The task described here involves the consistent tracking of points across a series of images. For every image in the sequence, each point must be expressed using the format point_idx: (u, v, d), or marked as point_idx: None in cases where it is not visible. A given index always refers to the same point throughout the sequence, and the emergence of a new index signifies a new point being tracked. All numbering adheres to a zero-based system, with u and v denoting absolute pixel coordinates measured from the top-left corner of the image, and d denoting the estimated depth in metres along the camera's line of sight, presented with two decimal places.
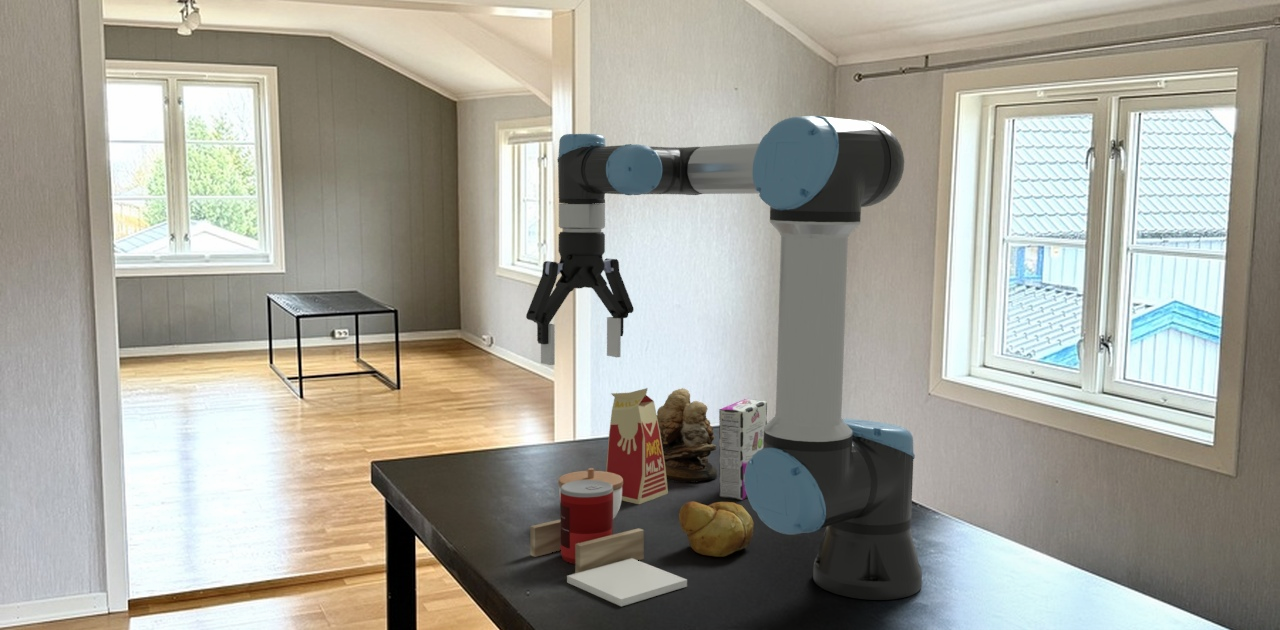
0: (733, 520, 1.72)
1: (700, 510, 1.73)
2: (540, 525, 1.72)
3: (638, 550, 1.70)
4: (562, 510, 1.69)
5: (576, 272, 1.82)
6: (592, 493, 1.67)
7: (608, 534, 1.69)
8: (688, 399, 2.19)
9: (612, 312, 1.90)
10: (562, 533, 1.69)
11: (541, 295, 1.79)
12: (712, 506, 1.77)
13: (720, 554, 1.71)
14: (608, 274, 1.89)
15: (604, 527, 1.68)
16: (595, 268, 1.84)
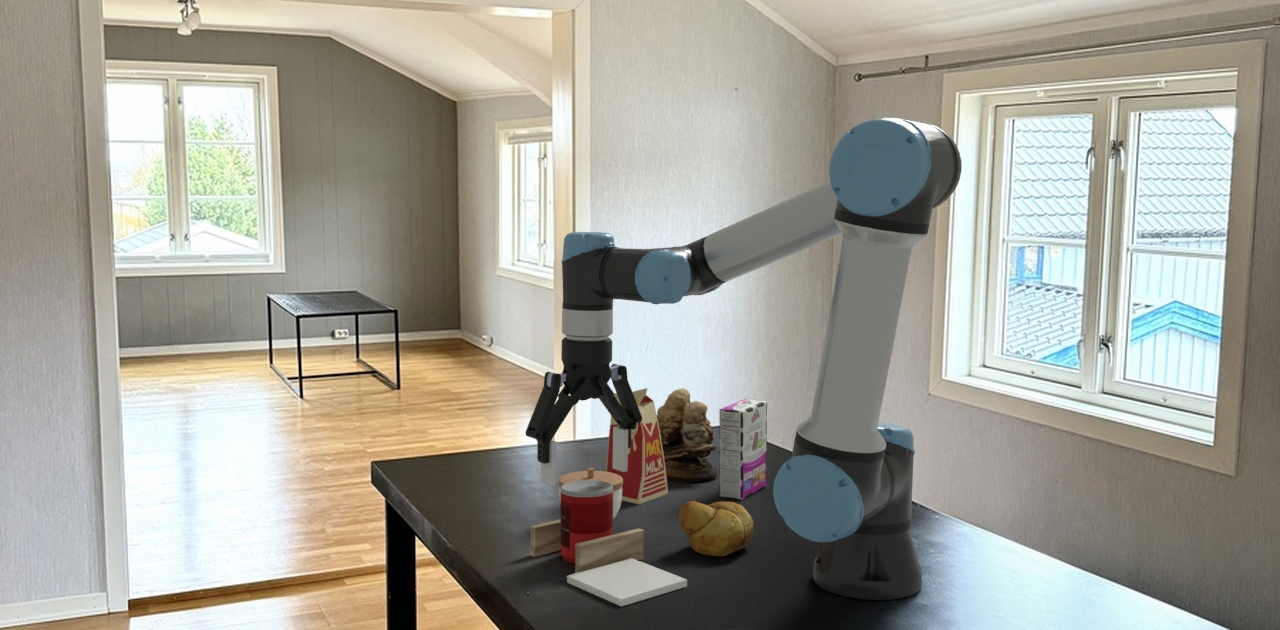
0: (732, 520, 1.72)
1: (700, 509, 1.73)
2: (540, 525, 1.72)
3: (638, 550, 1.70)
4: (562, 510, 1.69)
5: (581, 383, 1.66)
6: (592, 493, 1.67)
7: (608, 534, 1.69)
8: (688, 399, 2.19)
9: (619, 422, 1.75)
10: (562, 533, 1.69)
11: (542, 411, 1.63)
12: (712, 506, 1.77)
13: (720, 554, 1.71)
14: (615, 381, 1.73)
15: (604, 527, 1.68)
16: (601, 378, 1.68)
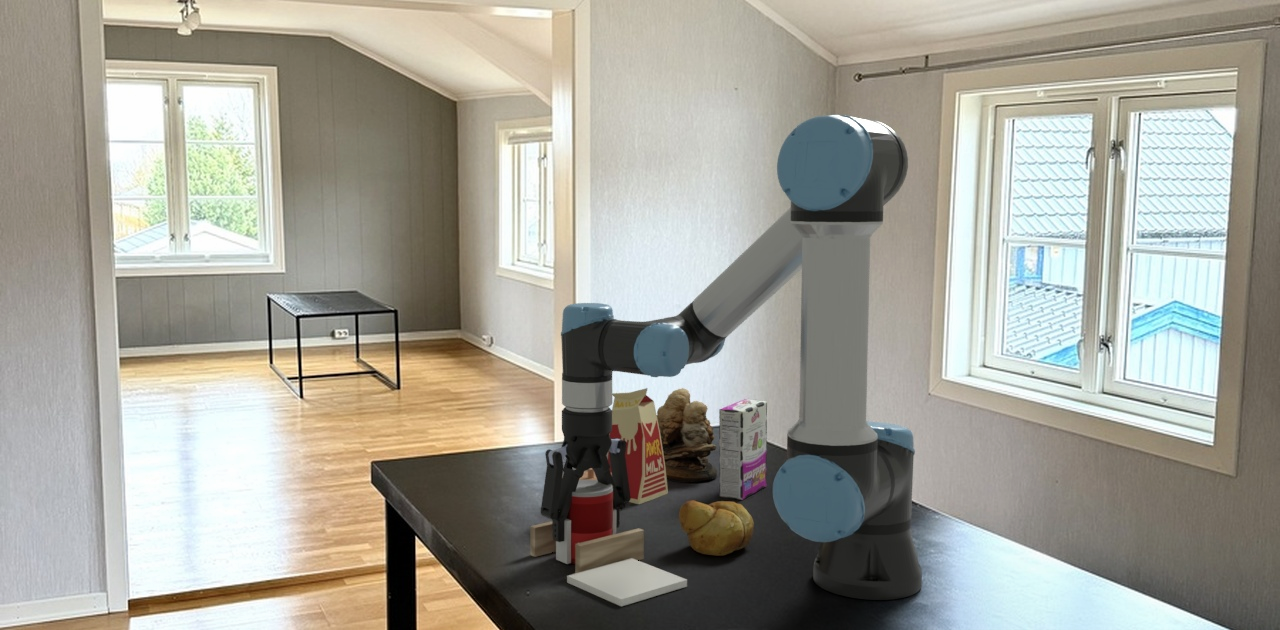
0: (732, 520, 1.72)
1: (699, 509, 1.73)
2: (540, 525, 1.72)
3: (638, 550, 1.70)
4: None
5: (582, 456, 1.67)
6: (592, 493, 1.67)
7: (608, 534, 1.69)
8: (688, 399, 2.19)
9: None
10: None
11: (551, 491, 1.65)
12: (712, 505, 1.77)
13: (719, 553, 1.71)
14: (612, 455, 1.74)
15: (604, 526, 1.68)
16: (602, 448, 1.69)
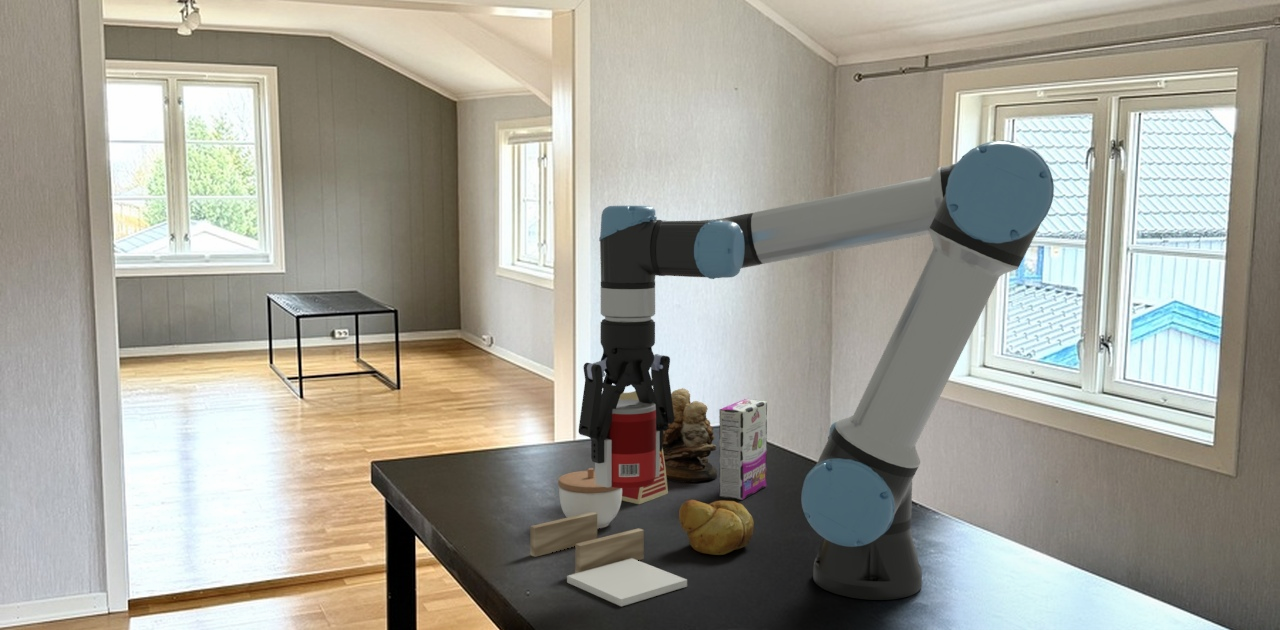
0: (732, 519, 1.73)
1: (699, 508, 1.73)
2: (540, 525, 1.72)
3: (638, 550, 1.70)
4: None
5: (623, 370, 1.54)
6: (634, 410, 1.54)
7: (651, 455, 1.56)
8: (688, 399, 2.19)
9: None
10: None
11: (590, 407, 1.52)
12: (712, 505, 1.77)
13: (718, 552, 1.72)
14: (654, 372, 1.61)
15: (647, 447, 1.55)
16: (644, 362, 1.56)
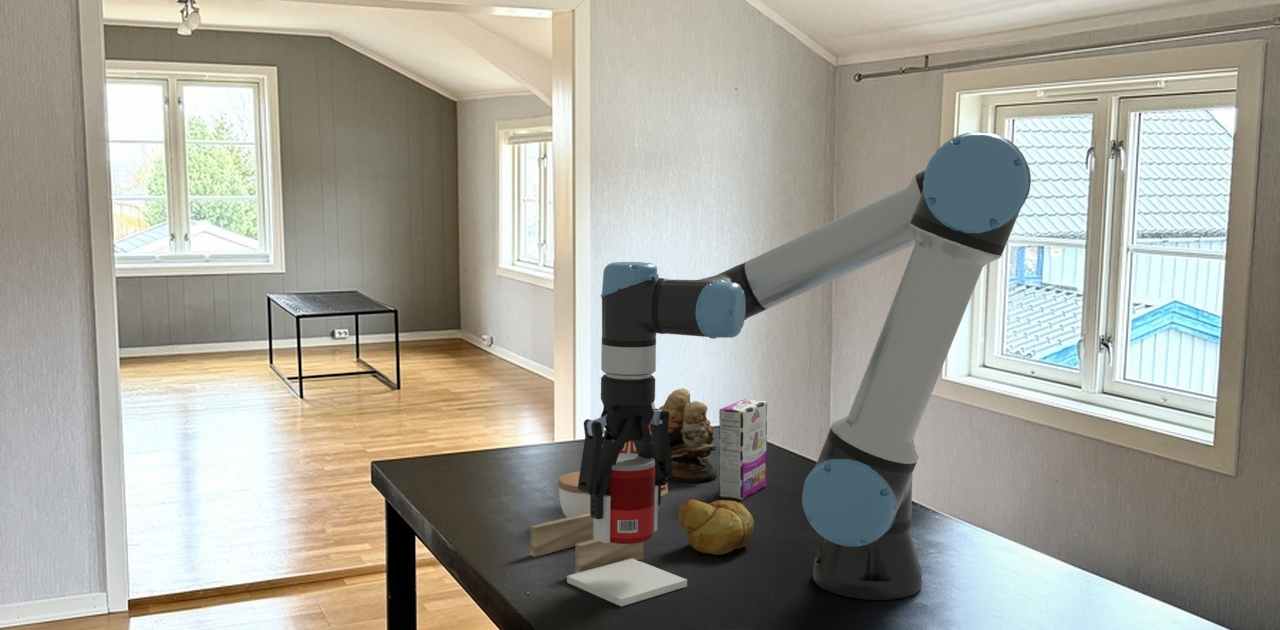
0: (731, 519, 1.73)
1: (699, 508, 1.74)
2: (540, 525, 1.72)
3: (638, 550, 1.70)
4: None
5: (622, 427, 1.55)
6: (633, 466, 1.54)
7: (649, 511, 1.57)
8: (688, 399, 2.19)
9: None
10: None
11: (590, 463, 1.53)
12: (713, 504, 1.78)
13: (718, 552, 1.72)
14: (654, 427, 1.61)
15: (646, 503, 1.56)
16: (644, 419, 1.57)
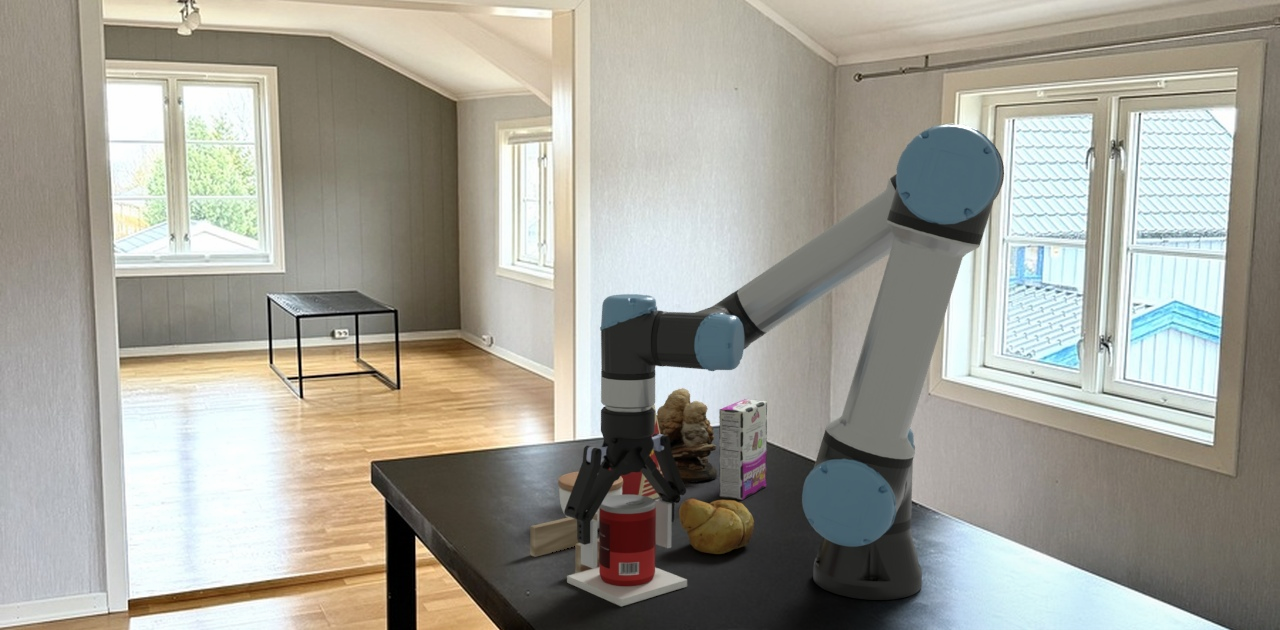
0: (731, 518, 1.73)
1: (699, 507, 1.74)
2: (540, 525, 1.72)
3: None
4: (601, 527, 1.57)
5: (622, 457, 1.55)
6: (634, 509, 1.55)
7: (651, 553, 1.57)
8: (688, 399, 2.19)
9: (661, 494, 1.64)
10: (601, 552, 1.58)
11: (582, 488, 1.52)
12: (713, 504, 1.78)
13: (718, 551, 1.72)
14: (657, 452, 1.62)
15: (647, 545, 1.57)
16: (644, 450, 1.57)
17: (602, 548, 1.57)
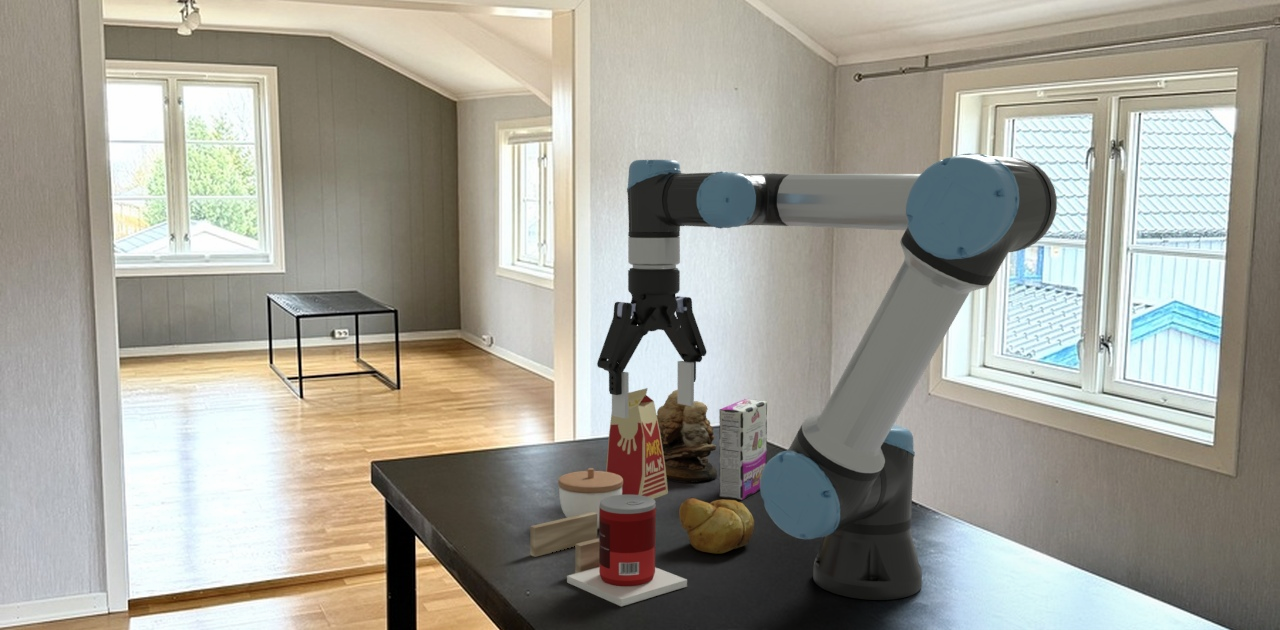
0: (731, 518, 1.73)
1: (699, 507, 1.74)
2: (540, 525, 1.72)
3: None
4: (601, 527, 1.57)
5: (650, 313, 1.63)
6: (634, 509, 1.55)
7: (651, 553, 1.57)
8: None
9: (683, 355, 1.72)
10: (601, 552, 1.58)
11: (614, 340, 1.60)
12: (713, 503, 1.78)
13: (718, 551, 1.72)
14: (680, 314, 1.70)
15: (647, 545, 1.57)
16: (669, 308, 1.65)
17: (602, 548, 1.57)
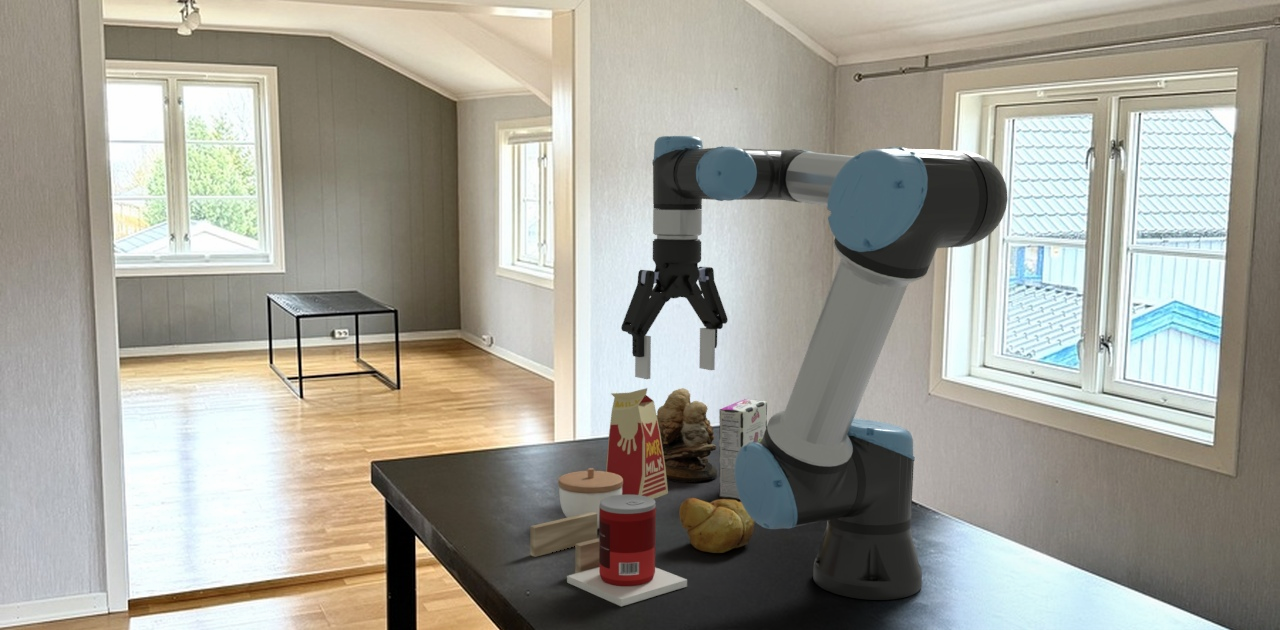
0: (731, 518, 1.73)
1: (699, 506, 1.75)
2: (540, 525, 1.72)
3: None
4: (601, 527, 1.57)
5: (672, 281, 1.73)
6: (634, 509, 1.55)
7: (651, 553, 1.57)
8: (688, 399, 2.19)
9: (705, 323, 1.82)
10: (601, 552, 1.58)
11: (637, 306, 1.70)
12: (713, 503, 1.78)
13: (717, 550, 1.73)
14: (702, 283, 1.80)
15: (647, 545, 1.57)
16: (691, 277, 1.75)
17: (602, 548, 1.57)
